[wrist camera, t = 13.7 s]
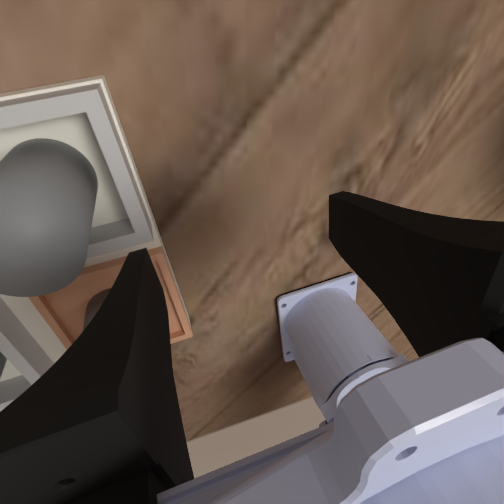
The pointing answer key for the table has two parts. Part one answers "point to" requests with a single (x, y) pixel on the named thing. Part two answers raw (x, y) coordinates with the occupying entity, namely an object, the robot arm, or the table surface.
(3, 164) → the white cylinder holder tray
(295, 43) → the table surface
